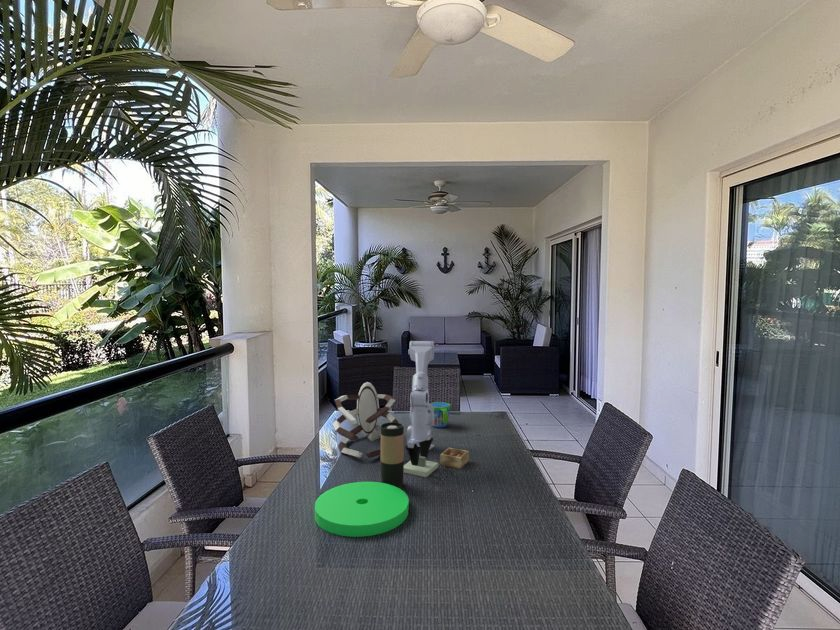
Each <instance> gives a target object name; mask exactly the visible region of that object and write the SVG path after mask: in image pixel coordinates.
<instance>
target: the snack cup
mask: <svg viewBox="0 0 840 630" xmlns="http://www.w3.org/2000/svg"><path fill="white" fill-rule="evenodd" d="M429 403H430V402H429ZM430 404H431V405H432V406H433V408H434V425H433V426H432V427H434V428H446V427H447V426H448V424H449V416H450V409H451V408H452V404H450V403H448V402H444V401H442V402H441V401H435V402H431V403H430Z"/></svg>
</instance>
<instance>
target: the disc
mask: <svg viewBox="0 0 840 630" xmlns="http://www.w3.org/2000/svg"><path fill="white" fill-rule="evenodd" d="M409 502H410V499H409V496H408V495H407V493H406V491H404V490H402V488H400V489H399V488H397V487H395V486H393V485H389V484H385V483H381V482H377V481H357V482H356V481H355V482H349V483H344V484H341V485H338V486H335V487H332V488H329V489H328V490H326V491H325V492H323V493H322V494H320V495H319V496H318V498H317V499H316V500H315V502H314V519H315V523H316V524H317V525H318V527H320V528H321V529H322V530H323V531H326V532H329V534H330V533H331V534H333V535H337V536H343V537H354V538H355V537H356V538H358V537H371V536H375V535H381V534H384V533H388V532H389V531H392V530H394V529H396V528H397V527H398V526H400V525H401V524H403V523H404V521H406V519H407V517H408V515H409V512H410V511H409V510H410V509H409V508H410V506H409V504H410V503H409ZM408 511H409V512H408Z"/></svg>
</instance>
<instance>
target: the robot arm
mask: <svg viewBox="0 0 840 630" xmlns="http://www.w3.org/2000/svg"><path fill="white" fill-rule="evenodd" d="M408 348H409V349H408V351H409V354H408V355H409V357H410V360H411V361H413V362H415V374H413V375H412V382H411V383H412V385H411V386H412V387H411V392H410V397H409V403H410V408H409V426H408V427H407V428H406V429H407V430H406V444H405V446H404V448H405V450H406V451H407V453H408V456H409V459H410V460H409V461H411V464H412V465H414V466H417V465H418V461H419V456H423V457H426V459H428V456H429V451H430V450H431V449H433V448H434V447H436V446H435V444H432V442H433V441H434V438H433V437H432V433H431V431H432V427H434V426H433V425H434V408H433V406H432V405H431V404H430V392H429V376H428V367H429V366H428V365H429V363H430V362H432V361H433V360H434V359H435V342H434V341H433V340H430V341H429V340H410V341H409V347H408Z"/></svg>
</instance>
